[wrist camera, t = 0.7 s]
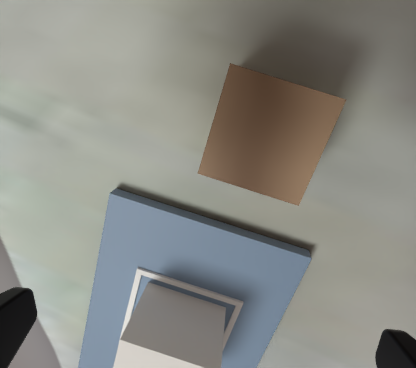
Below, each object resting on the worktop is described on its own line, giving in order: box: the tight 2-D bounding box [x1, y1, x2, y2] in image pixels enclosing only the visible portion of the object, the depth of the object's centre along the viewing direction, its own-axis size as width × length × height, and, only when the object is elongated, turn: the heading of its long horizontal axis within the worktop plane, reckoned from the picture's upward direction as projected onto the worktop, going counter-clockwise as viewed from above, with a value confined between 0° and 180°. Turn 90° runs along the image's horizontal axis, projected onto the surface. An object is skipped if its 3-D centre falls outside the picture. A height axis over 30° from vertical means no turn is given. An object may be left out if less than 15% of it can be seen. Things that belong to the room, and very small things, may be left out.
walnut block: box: [198, 63, 346, 206], centre depth 15 cm, size 5×5×5 cm
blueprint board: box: [78, 188, 312, 368], centre depth 22 cm, size 14×18×1 cm
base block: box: [113, 282, 226, 368], centre depth 19 cm, size 6×6×5 cm
